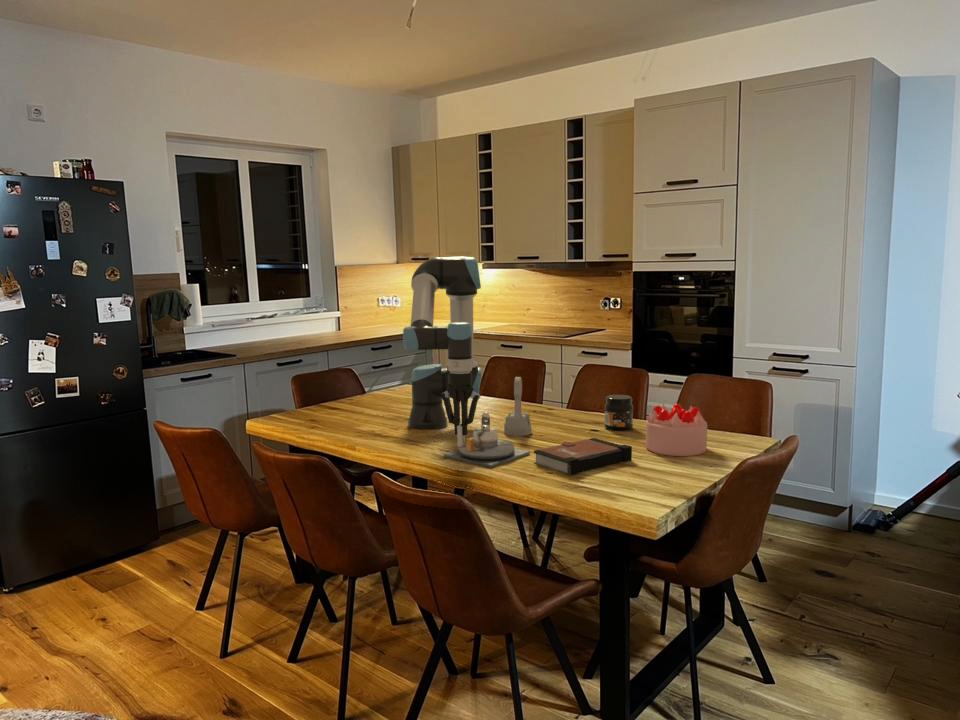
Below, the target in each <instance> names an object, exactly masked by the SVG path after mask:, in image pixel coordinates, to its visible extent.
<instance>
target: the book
mask: <svg viewBox="0 0 960 720" xmlns="http://www.w3.org/2000/svg"><path fill="white" fill-rule="evenodd" d="M632 448H633V447H632V446H631V445H628V444H627V445H626V444H618V443H614V442H610V441H607V440H603V439H599V438H596V437H592V438H586V439H583V440H579V441H572V442H571V441H564V442H562V443H561V444H560V445H554V446H549V447H545V448H540V449H536V450H535V449H534V450H533V453H534V454H535V461H534V462H533V464H535V465H538V466H541V467H544V468H547V469H549V470H552V471H556V472H558V473H561V474H563V475H567V476H570V477H571V476H574V475H579V474H581V473H584V472H588V471H592V470H596V469H601V468H605V467H608V466H613V465H616V464H620V463H628V462H631V461H632V460H633V459H632V457H633V456H632V455H633V454H632V451H633V450H632Z"/></svg>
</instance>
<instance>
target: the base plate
mask: <svg viewBox="0 0 960 720" xmlns="http://www.w3.org/2000/svg"><path fill="white" fill-rule="evenodd" d="M530 454H531V451H530V450H525V449H520V448H516V447H514V454H513V455H511V456H508V457H505V458H499V459H473V458H468V457H464V456H462V455H461V454H460V453H459V448H458V449H455V450H452V451H449V452H446V453H443V458H445V459H450V460H453V461H454V460H455V461H457V462H464V463H468V464H472V465H477V466H480V465H481V467H484V466H485V467H484V468H488V467H489V469H491V468H492V469H493V468H494V467H498V466H500V464H501V465H503V464H507V463H509V462H512V461H514V460H515V461H516V460H518V459H521V458H525V457H527V456H529V455H530ZM506 462H507V463H506Z"/></svg>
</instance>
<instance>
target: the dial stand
mask: <svg viewBox="0 0 960 720" xmlns="http://www.w3.org/2000/svg"><path fill="white" fill-rule="evenodd" d="M481 425H490V426H491V417H490V414H489V412H487V411H484V412H482V414H481Z"/></svg>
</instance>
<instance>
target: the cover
mask: <svg viewBox="0 0 960 720" xmlns="http://www.w3.org/2000/svg"><path fill="white" fill-rule="evenodd" d="M498 431H499V430H498V429H497V428H495V427H494V428H493V427H491V424H490V425H482V424H481V425H480V427H477V428H474V429H473V430H472V438H475V447H476V448H483V449H489V448H495V447H497V446H498V440H499V439H498V435H499V432H498Z"/></svg>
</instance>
